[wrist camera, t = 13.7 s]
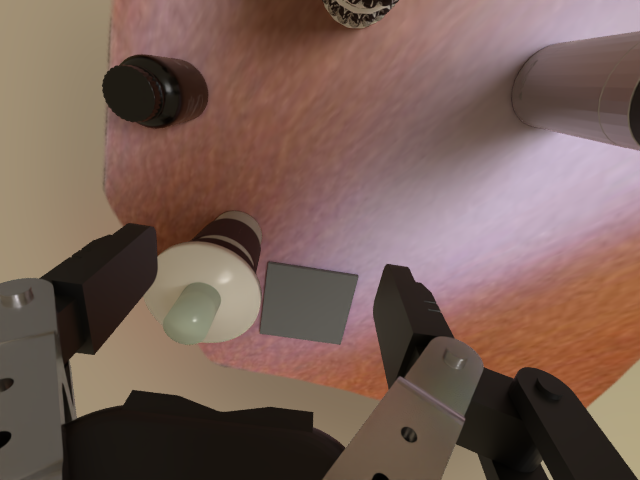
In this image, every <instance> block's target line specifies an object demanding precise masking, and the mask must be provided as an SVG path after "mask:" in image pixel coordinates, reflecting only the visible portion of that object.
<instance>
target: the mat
mask: <svg viewBox="0 0 640 480" xmlns="http://www.w3.org/2000/svg"><path fill="white" fill-rule="evenodd" d="M357 280H358V275H355V274H348V273H342V272H335V271H329V270H322V269H316V268H309V267H303V266H296V265H289V264H283V263H276V262H270V261H269V262H268V269H267V278H266V286H265V294H264V303H263V311H262V319H261V328H260V334H267V335H274V336H281V337H288V338H296V339H303V340H310V341H317V342H325V343H332V344H339V345H341V341H342V337H343V333H344V329H345V326H346V322H347V318H348V314H349V310H350V307H351V303H352V299H353V295H354V291H355V288H356V284H357Z"/></svg>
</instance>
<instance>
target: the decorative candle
mask: <svg viewBox="0 0 640 480" xmlns="http://www.w3.org/2000/svg"><path fill="white" fill-rule="evenodd" d="M322 1H323V3H324V6H325V8H326V10H327V11H328V12H329V14H330V15H331V16H332V18H333V19H334V20H335V21H337V22H338V23H340V24H342V25H344V26H346V27H347V28H365V27H367V26H369V25H372V24H374V23H376V22H377V21H380V20H381V19H382V18H383V17H384V16H385V14H387V12H389V11H390V10H391V9H392V7H394V6H395V4H396V3H397V2H398V1H399V0H322Z"/></svg>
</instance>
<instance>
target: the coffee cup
mask: <svg viewBox="0 0 640 480" xmlns="http://www.w3.org/2000/svg"><path fill="white" fill-rule="evenodd" d="M261 240H262V232H261V229H260V226H259V224H258V223H257V221H256V220H255V219H254V218H253V217H251V216H250V215H248V214H246V213H243V212H240V211H229V212H226V213H223V214H221V215H220V216H219V217H218V218H217V219H216V220H214V221H213V222H211V223H210V224H208V225H207V226H206V227H205V228H204V229H203V230H202V231H201V232H200V233H199V234H198V235H196V236H195V237H194V238H193V239H192V240H191V241H189V242H195V241H199V242H208V243H213V244H216V245H219V246H222V247H225V248H227V249H229V250H231V251H232V252H234V253H236V254H237V255H239V256H240V257H241V258H242V259H244V260H245V261H246V262H247V263H248V264H249V266H250V267H251V268H252V269H253V271H254V272H255V274H256V270H257V266H258V261H259V256H260V251H261V247H260V245H261Z"/></svg>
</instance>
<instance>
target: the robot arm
mask: <svg viewBox="0 0 640 480" xmlns="http://www.w3.org/2000/svg"><path fill="white" fill-rule="evenodd" d="M512 104H513V108H514V111H515V113H516V115H517V116H518V117H519V119H520V120H521V121H523V122H524V123H525V124H528V125H530V126H533V127H537V128H542V129H546V130H550V131H554V132H558V133H563V134H567V135H571V136H576V137H580V138H585V139H589V140H593V141H598V142H602V143H607V144H611V145H615V146H620V147H624V148H630V149H634V150H638V151H640V31H638V32H631V33H625V34H618V35H611V36H604V37H598V38H591V39H584V40H577V41H570V42H563V43H557V44H554V45H550V46H548V47H546V48H544V49H541V50H540V51H538V52H537V53H536V54H534V55H533V56H532V57H531V58H530V59H529V60H528V61H527V62H526V63H525V64H524V66H523V67H522V69H521V70H520V72H519V74H518V76H517V78H516V80H515V83H514V86H513V91H512ZM157 271H158V259H157V239H156V231H155V228H154V227H152V226H145V225H139V224H132V223H128V224H126V225H125V226H124V227H122V228H121V229H120V230H118V231H117V232H116V233H114V234H113V235H107V236H104V237H102V238H99V239H96V240H93V241H92V242H90V243H89V244H88V245H86V246H85V247H84V248H82V250H79V251H78V252H76V253H75V254H73V255H72V257H69V258H68V259H66V260H65V261H63V262H62V263H61V264H59V265H58V266H56V267H55V268H54V269H52V270H51V271H49V272H48V273H46V274H45V275H44V276H42V277H41V278H39V279H37V278H24V279H16V280H11V281H7V282H3V283H0V480H441V479H442V476H443V474H444V471H445V469H446V466H447V464H448V461H449V459H450V456H451V454H452V452H453V449H454V447H455V444H457V445H459V446H462V447H464V448H466V449H468V450H471V451H473V452H475V453H477V454H478V457H479V459H480V462H481V465H482V468H483V470H484V473H485V476H486V479H487V480H549V479H548V477H547V475H546V473H545V472H544V470H543V468H542V466H541V464H540V463H541V462H542V460H543V461H544V462H545V464H546V466H547V468H548V470H549V472H550V474H551V476H552V477H553V479H554V480H638V479H637V477H636V476H635V475H634V473H633V472H632V471H631V469H630V468H629V467H628V465H627V464H626V463H625V461H624V460H623V458H622V457H621V456H620V454H619V453H618V452H617V450H616V449H615V448H614V446H613V445H612V444H611V442H610V441H609V440H608V438H607V437H606V435H605V434H604V433H603V431H602V430H601V429H600V428H599V426H598V425H597V423H596V422H595V421H594V419H593V418H592V417H591V415H590V414H589V413H588V411H587V410H586V408H585V407H584V406H583V404H582V403H581V402H580V400H579V399H578V398H577V396H576V395H575V394H574V392H573V391H572V390H571V389H570V388H569V387H568V386H567V385H565V384H564V383H563V382H562V381H560V380H559V379H558V378H556V377H554V376H553V375H551V374H549V373H547V372H545V371H542V370H539V369H536V368H530V367H525V368H522V369H520V370H519V371H518V373H517V374H516V376H515V378H514V379H513V378H510V377H508V376H505V375H502V374H500V373H497V372H494V371H492V370H489V369H487V368H484V367H483V362H482V360H481V358H480V357H479V355H478V354H477V353H476V352H475V351H474V350H473V349H472V348H471V347H469V346H468V345H466V344H465V343H463V342H461V341H459V340H457V339H455V338H454V336H453V334H452V332H451V330H450V329H449V327H448V325H447V323H446V321H445V319H444V317H443V315H442V313H440V309H439V307H438V305H437V304H436V301H435V299H434V297H433V295H432V293H431V292H430V291H429V290H428V289H427V288H426V287H425V286H424V285H423V284H422V283H418V282H415V280H414V278H413V276H412V274H411V271H410V269H409V268H408V267H404V266H398V265H391V264H387V265H386V266H385V268H384V270H383V274H382V277H381V280H380V284H379V287H378V290H377V294H376V297H375V300H374V306H373V317H374V322H375V327H376V332H377V336H378V341H379V346H380V350H381V355H382V360H383V365H384V369H385V374H386V379H387V383H388V388H389V390H388V392H387V393H386V394H385V396H384V397H383V399H382V400H381V401H380V403H379V404H378V405H377V407H376V408H375V409H374V411H373V412H372V413H371V415H370V416H369V417H368V419H367V420H366V421H365V423H364V424H363V426H362V427H361V428H360V429H359V431H358V432H357V433H356V435H355V436H354V437H353V439H352V440H351V441H350V443H349V444H348V446H347V447H346V448H345V447H344V446H343V445H342V444H341V443H340V442H338V441H337V440H336V439H334V438H333V437H331V436H330V435H328V434H326V433H324V432H323V431H321V430H319V429H316V428H313V412H307V411H299V410H291V409H283V408H275V407H265V408H256V409H247V410H238V411H230V412H220V411H216V410H214V409H211V408H208V407H206V406H203V405H201V404H198V403H196V402H193V401H191V400H188V399H186V398H183V397H181V396H177V395H169V394H161V393H153V392H145V391H137V390H132V392H131V393H130V395H129V397H128V398H127V400H126V402H125V403H124V405H121V406H115V407H110V408H106V409H102V410H99V411H95V412H92V413H90V414H87V415H84V416H82V417H79V418H77V416H76V409H75V399H74V391H73V382H72V373H71V366H70V361H69V359H70V358H71V357H72V356H73V355H74V354H75V353H84V354H91V355H95V353H96V352H97V351H98V350H99V348H100V347H101V346H102V345H103V344H104V343H105V341H106V340H107V339H108V338H109V336H110V335H111V334H112V333H113V332H114V330H115V329H116V328H117V327H118V326H119V324H120V323H121V322H122V321H123V320H124V318H125V317H126V316H127V315H128V314H129V312H130V311H131V310H132V309H133V308H134V306H135V305H136V304H137V303H138V301H139V300H140V299H141V298H142V297H143V295H144V294H145V293H146V292H147V291H148V289H149V288H150V287H151V286H152V284H153V283H154V281H155V279H156V276H157Z"/></svg>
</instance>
